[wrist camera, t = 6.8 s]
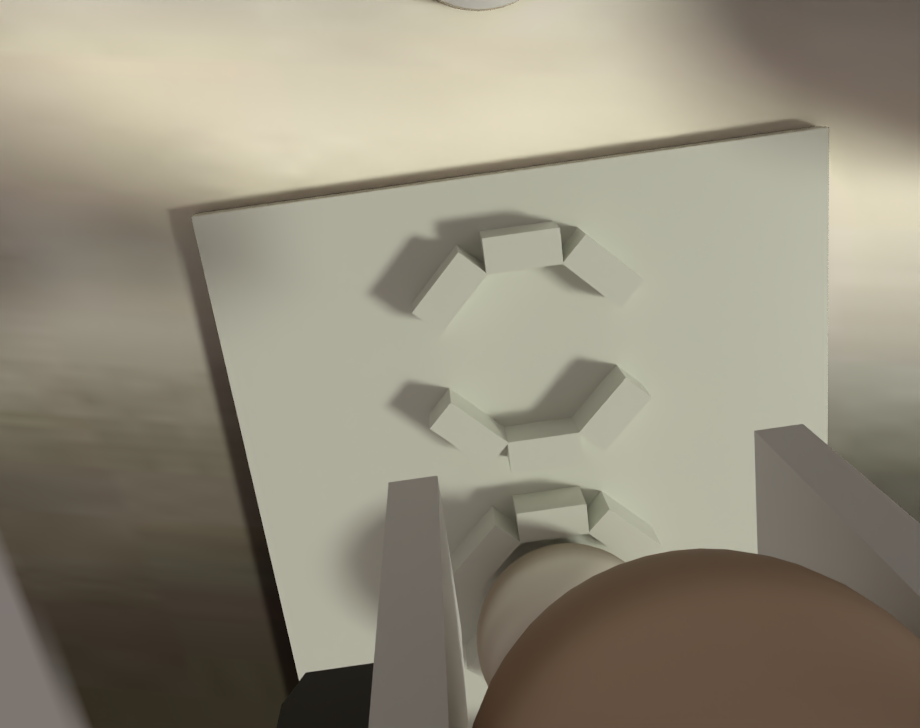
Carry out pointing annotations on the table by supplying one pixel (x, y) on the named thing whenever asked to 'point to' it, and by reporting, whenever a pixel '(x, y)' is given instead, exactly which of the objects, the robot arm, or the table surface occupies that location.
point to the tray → (520, 363)
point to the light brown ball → (708, 651)
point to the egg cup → (477, 4)
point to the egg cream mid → (531, 595)
